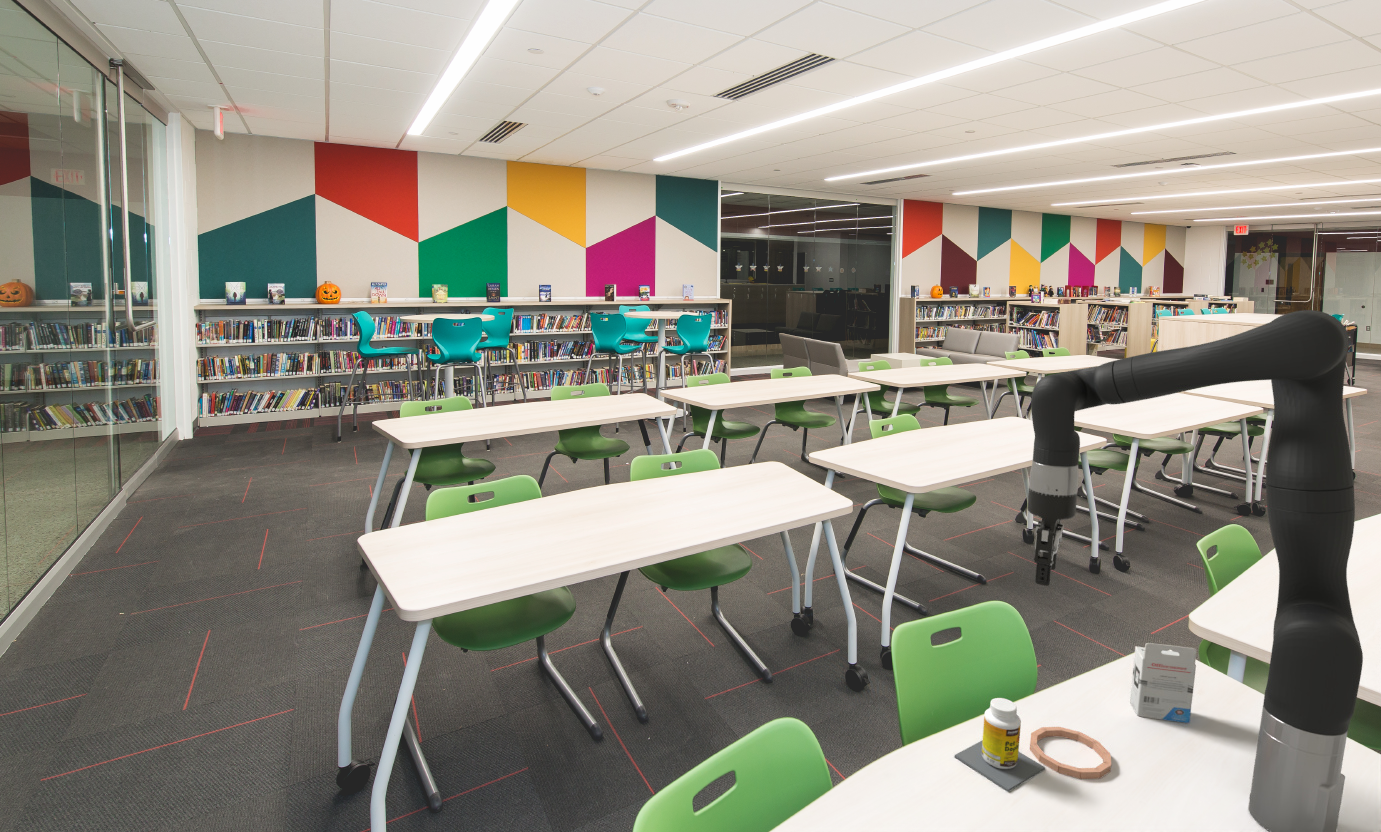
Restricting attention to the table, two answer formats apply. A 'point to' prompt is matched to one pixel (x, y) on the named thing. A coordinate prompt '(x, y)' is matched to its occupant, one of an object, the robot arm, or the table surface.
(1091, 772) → the faceted open ring
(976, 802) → the table surface
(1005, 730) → the supplement bottle
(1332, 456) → the robot arm
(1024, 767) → the mat
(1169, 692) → the ink box
